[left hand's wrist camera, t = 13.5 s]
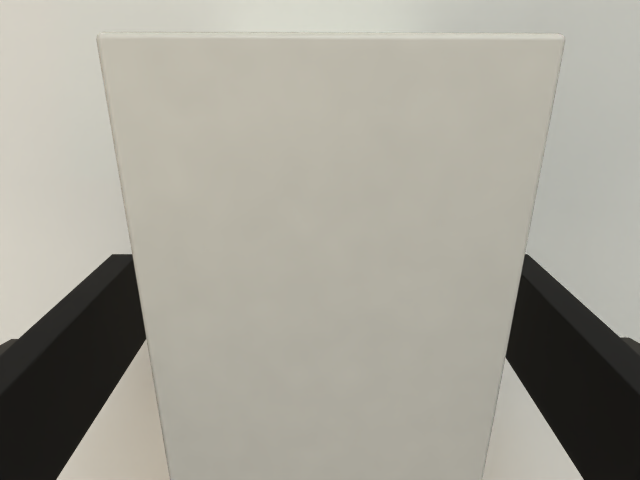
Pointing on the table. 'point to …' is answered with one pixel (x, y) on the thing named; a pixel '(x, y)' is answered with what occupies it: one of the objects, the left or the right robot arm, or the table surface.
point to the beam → (328, 241)
